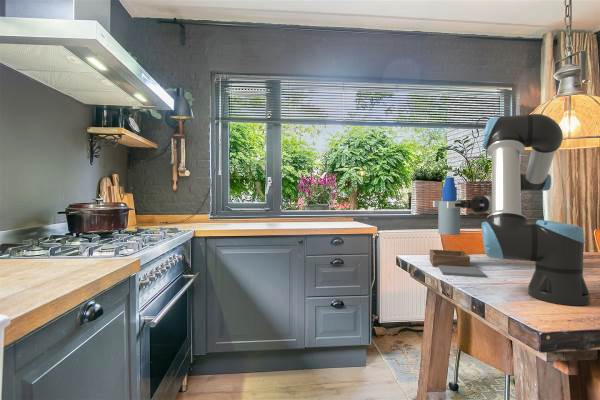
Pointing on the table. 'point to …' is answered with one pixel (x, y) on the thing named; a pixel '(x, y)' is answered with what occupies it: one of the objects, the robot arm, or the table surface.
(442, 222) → the spray bottle
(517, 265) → the table surface
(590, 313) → the table surface
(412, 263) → the table surface
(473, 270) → the rubber mat
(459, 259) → the walnut collar
